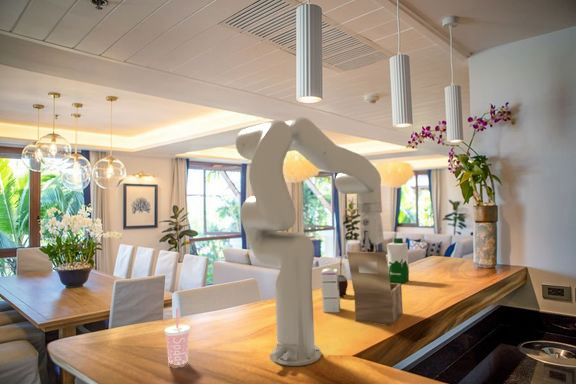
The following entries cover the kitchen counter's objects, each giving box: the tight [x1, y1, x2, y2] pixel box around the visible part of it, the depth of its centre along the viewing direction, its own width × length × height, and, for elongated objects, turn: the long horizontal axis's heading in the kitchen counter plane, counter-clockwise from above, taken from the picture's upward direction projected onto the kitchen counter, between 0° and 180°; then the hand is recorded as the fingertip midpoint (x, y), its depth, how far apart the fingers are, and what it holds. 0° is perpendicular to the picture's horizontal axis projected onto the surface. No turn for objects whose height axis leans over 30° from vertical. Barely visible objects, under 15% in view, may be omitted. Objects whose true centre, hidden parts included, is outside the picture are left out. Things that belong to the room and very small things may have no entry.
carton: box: [353, 283, 404, 326], centre depth 126 cm, size 14×12×10 cm
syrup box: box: [320, 268, 341, 313], centre depth 136 cm, size 6×6×14 cm
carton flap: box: [346, 250, 391, 294], centre depth 118 cm, size 14×12×1 cm
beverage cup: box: [164, 307, 191, 365], centre depth 95 cm, size 6×6×14 cm
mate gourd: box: [338, 256, 349, 298], centre depth 157 cm, size 8×8×15 cm
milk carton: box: [386, 237, 410, 285], centre depth 178 cm, size 9×9×20 cm
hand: (372, 265), depth 122 cm, fingers closed
